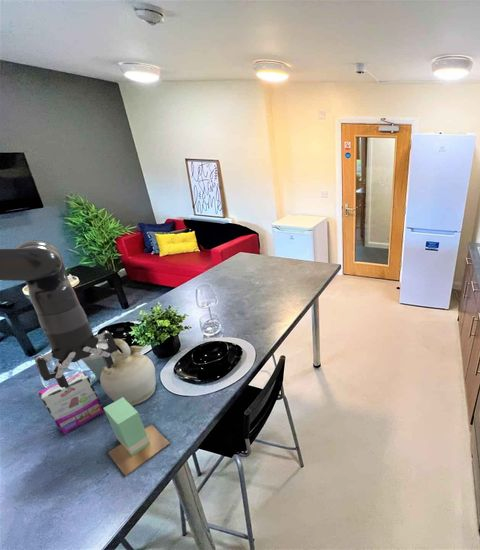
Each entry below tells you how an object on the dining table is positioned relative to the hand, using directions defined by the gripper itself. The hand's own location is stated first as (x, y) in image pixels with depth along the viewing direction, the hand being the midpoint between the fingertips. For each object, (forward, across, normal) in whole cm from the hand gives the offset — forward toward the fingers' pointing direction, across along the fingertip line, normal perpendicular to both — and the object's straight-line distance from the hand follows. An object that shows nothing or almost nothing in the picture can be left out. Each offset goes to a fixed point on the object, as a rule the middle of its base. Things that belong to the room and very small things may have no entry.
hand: (88, 376), depth 75 cm
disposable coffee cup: (+31, -11, -43) cm, 54 cm away
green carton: (+24, -4, +3) cm, 24 cm away
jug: (+31, -13, -24) cm, 41 cm away
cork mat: (+31, -4, +1) cm, 32 cm away
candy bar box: (+32, +2, -26) cm, 41 cm away
